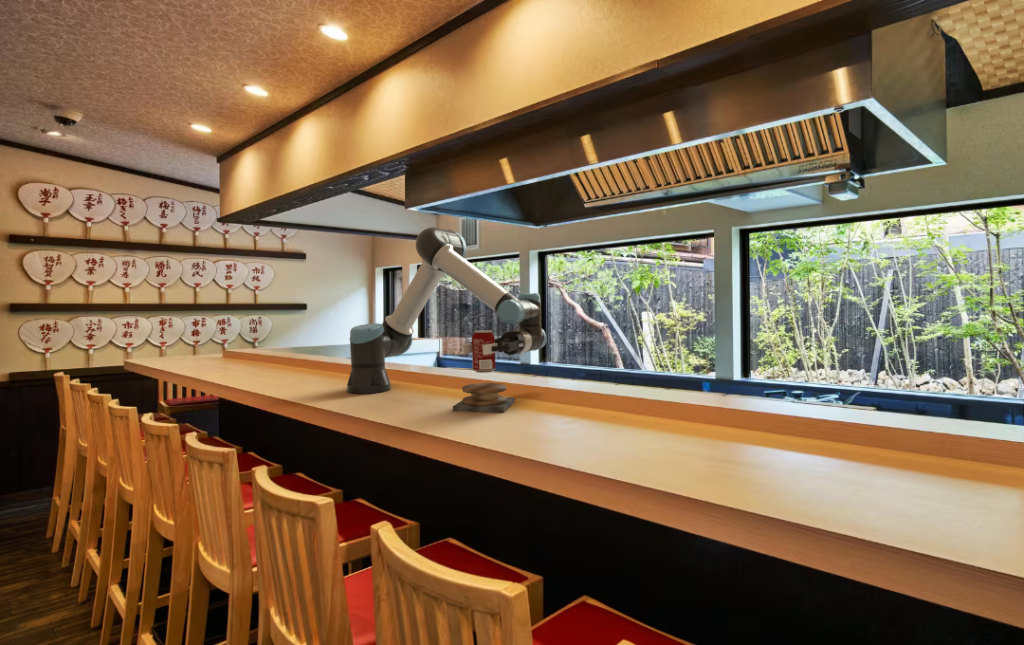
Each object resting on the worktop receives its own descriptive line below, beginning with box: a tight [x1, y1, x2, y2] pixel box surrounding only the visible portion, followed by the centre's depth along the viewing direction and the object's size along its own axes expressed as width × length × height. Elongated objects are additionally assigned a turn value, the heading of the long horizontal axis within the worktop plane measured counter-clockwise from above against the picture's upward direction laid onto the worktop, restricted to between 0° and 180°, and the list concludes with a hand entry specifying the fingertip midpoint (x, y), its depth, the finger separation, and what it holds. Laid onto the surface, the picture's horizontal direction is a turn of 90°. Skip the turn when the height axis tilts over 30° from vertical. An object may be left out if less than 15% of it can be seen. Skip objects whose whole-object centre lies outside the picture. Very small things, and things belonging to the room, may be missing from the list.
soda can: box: [471, 329, 497, 374], centre depth 166 cm, size 7×7×12 cm
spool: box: [452, 382, 516, 414], centre depth 167 cm, size 15×15×6 cm
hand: (473, 349), depth 162 cm, fingers closed on soda can, 7 cm apart
